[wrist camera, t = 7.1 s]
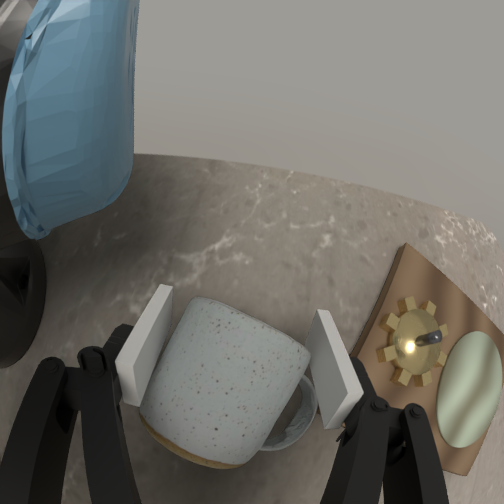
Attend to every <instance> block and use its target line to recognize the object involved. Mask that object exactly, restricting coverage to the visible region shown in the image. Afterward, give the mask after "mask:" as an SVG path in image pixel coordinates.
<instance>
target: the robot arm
mask: <svg viewBox="0 0 504 504" xmlns="http://www.w3.org/2000/svg"><path fill="white" fill-rule="evenodd" d="M138 13H139V0H0V368H5V367H8V366H10V365H12V364H14V363H15V362H16V361H17V360H19V359H20V358H21V357H22V355H23V354H24V353H25V352H26V350H27V349H28V347H29V346H30V344H31V342H32V340H33V338H34V336H35V333H36V331H37V328H38V325H39V322H40V319H41V315H42V311H43V306H44V299H45V288H46V276H45V266H44V260H43V256H42V253H41V250H40V248H39V246H38V244H37V242H36V240H39V239H42V238H44V237H46V236H47V235H49V234H50V232H51V230H52V229H53V228H55V227H58V226H60V225H63V224H65V223H68V222H70V221H73V220H76V219H78V218H81V217H84V216H86V215H89V214H92V213H95V212H97V211H100V210H102V209H104V208H105V207H107V206H108V205H110V204H111V203H112V202H114V201H115V200H116V199H117V198H118V197H119V196H120V194H121V193H122V192H123V190H124V188H125V187H126V185H127V183H128V180H129V178H130V175H131V172H132V167H133V154H134V71H135V52H136V35H137V23H138ZM35 239H36V240H35ZM172 298H173V286H169V285H163V284H160V286H159V287H158V289H157V290H156V292H155V294H154V295H153V297H152V298H151V300H150V302H149V303H148V305H147V307H146V308H145V310H144V312H143V313H142V315H141V317H140V318H139V320H138V322H137V323H136V325H135V327H134V326H130V325H127V324H121V325H120V326H118V327H117V328H115V330H114V331H113V333H112V334H111V336H110V337H109V339H108V341H107V342H106V344H105V345H104V347H103V348H100V347H97V346H89V347H86V348H83V349H82V350H81V351H80V352H79V353H78V356H77V358H78V362H79V365H80V368H75V367H65V365H64V362H63V361H62V360H61V359H59V358H57V357H48V358H45V359H44V360H42V361H41V362H40V364H39V365H38V368H37V370H36V372H35V374H34V376H33V378H32V380H31V382H30V385H29V387H28V389H27V391H26V394H25V396H24V398H23V401H22V403H21V406H20V408H19V411H18V413H17V416H16V419H15V421H14V424H13V427H12V430H11V433H10V436H9V439H8V442H7V445H6V448H5V452H4V455H3V459H2V462H1V466H0V504H61V498H62V490H63V482H64V475H65V469H66V463H67V458H68V453H69V448H70V443H71V438H72V434H73V430H74V425H75V421H76V417H77V414H78V410H79V411H81V422H82V438H83V449H84V459H85V466H86V473H87V480H88V486H89V491H90V496H91V501H92V504H142V503H141V500H140V497H139V493H138V490H137V486H136V483H135V479H134V475H133V471H132V467H131V463H130V459H129V454H128V450H127V445H126V440H125V434H124V429H123V423H122V417H121V410H120V405H119V402H120V399H121V397H123V401H124V403H127V404H131V405H134V406H138V407H140V404H141V401H142V399H143V396H144V393H145V390H146V388H147V385H148V383H149V380H150V377H151V375H152V372H153V369H154V367H155V364H156V362H157V359H158V357H159V354H160V352H161V349H162V347H163V344H164V342H165V339H166V337H167V334H168V332H169V329H170V327H171V322H172ZM304 346H305V348H306V349H307V350H308V351H309V352H310V354H311V359H310V362H309V366H310V370H311V374H312V378H313V382H314V386H315V391H316V395H317V399H318V403H319V408H320V412H321V416H322V421H323V425H324V429H338V428H340V426H341V425H342V424H343V422H344V423H345V427H346V428H345V430H344V431H343V432H342V433H341V435H340V436H339V437H338V438H337V440H336V442H338V441H339V440H340V439H341V440H340V443H339V447H338V451H337V454H336V458H335V461H334V464H333V467H332V471H331V474H330V477H329V480H328V483H327V486H326V488H325V491H324V494H323V497H322V499H321V502H320V504H378V502H379V497H380V492H381V487H382V481H383V493H384V504H449V500H448V495H447V489H446V484H445V480H444V475H443V471H442V466H441V462H440V458H439V454H438V451H437V447H436V443H435V440H434V436H433V433H432V430H431V426H430V423H429V420H428V417H427V414H426V411H425V410H424V408H423V407H422V406H420V405H419V404H416V403H409V404H407V405H406V406H405V407H404V409H400V408H394V407H390V405H389V403H388V402H387V401H386V400H385V399H384V398H381V397H379V396H377V394H376V392H375V389H374V387H373V385H372V383H371V380H370V378H369V377H368V374H367V372H366V369H365V367H364V365H363V363H362V362H361V361H360V360H359V359H358V358H357V357H349V356H348V353H347V351H346V349H345V346H344V344H343V342H342V339H341V337H340V335H339V332H338V330H337V328H336V326H335V323H334V321H333V319H332V317H331V314H330V312H329V311H327V310H319V309H317V311H316V314H315V317H314V319H313V322H312V325H311V328H310V331H309V333H308V336H307V339H306V341H305V344H304Z"/></svg>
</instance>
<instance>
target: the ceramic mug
mask: <svg viewBox="0 0 504 504" xmlns="http://www.w3.org/2000/svg"><path fill="white" fill-rule="evenodd" d="M310 359H311V354H310V352H309V351H308V350H307V349H306V348H305V347H304V346H303V345H301V344H300V343H299V342H297V341H295V340H294V339H292V338H291V337H289V336H288V335H286V334H284V333H283V332H281V331H279V330H277V329H275V328H273V327H272V326H269V325H267V324H266V323H264V322H262V321H260V320H257V319H255V318H254V317H251V316H249V315H247V314H245V313H243V312H241V311H239V310H237V309H235V308H232V307H230V306H228V305H226V304H224V303H221V302H219V301H216V300H213V299H207V298H204V297H194V298H193V299H192V300H191V301H190V302H189V304H188V306H187V308H186V310H185V312H184V314H183V316H182V318H181V320H180V322H179V324H178V325H177V327H176V329H175V331H174V333H173V335H172V336H171V338H170V340H169V342H168V344H167V346H166V348H165V350H164V352H163V354H162V356H161V359H160V361H159V363H158V365H157V367H156V369H155V370H154V372H153V374H152V376H151V378H150V380H149V383H148V385H147V388H146V390H145V393H144V396H143V399H142V401H141V404H140V410H139V414H140V418H141V421H142V423H143V425H144V426H145V428H146V430H147V431H148V432H149V433H150V435H151V436H152V437H154V438H155V439H156V440H157V441H158V442H159V443H160V444H161V445H163V446H164V447H165V448H167V449H168V450H170V451H172V452H173V453H175V454H177V455H178V456H180V457H182V458H184V459H187V460H189V461H191V462H194V463H196V464H200V465H203V466H207V467H211V468H216V469H231V468H237V467H240V466H242V465H244V464H245V463H246V462H248V461H249V460H250V459H251V458H252V457H253V456H254V455H255V454H256V453H257V451H258V450H261V451H275V450H281V449H284V448H286V447H288V446H290V445H291V444H293V443H294V442H296V441H297V440H298V439H299V438H300V437H301V436H302V435H303V434H304V433H305V432H306V430H307V429H308V428H309V426H310V424H311V423H312V421H313V419H314V417H315V414H316V411H317V405H318V399H317V395H316V391H315V388H314V386H313V384H312V383H311V381H310V380H309V379H308V377H307V376H306V375H305V374H304V372H305V370H306V368H307V366H308V364H309V362H310ZM298 384H299V386H300V388H301V391H302V401H301V406H300V408H299V410H298V411H297V413H296V415H295V416H294V418H293V419H292V421H291V422H290V424H289V425H288V426H287V427H286V428H285V430H284V432H282V433H281V434H279V435H277V436H275V437H272V438H268V439H267V437H268V435H269V433H270V432H271V430H272V428H273V426H274V424H275V422H276V421H277V419H278V417H279V416H280V414H281V412H282V411H283V409H284V408H285V406H286V404H287V403H288V401H289V399H290V397H291V396H292V394H293V392H294V390H295V388H296V387H297V385H298Z"/></svg>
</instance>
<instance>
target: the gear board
mask: <svg viewBox="0 0 504 504" xmlns="http://www.w3.org/2000/svg"><path fill="white" fill-rule="evenodd" d="M412 296H413V297H414V300H415V304H416V308H417V309H420V306H421V304H422V303H424V302H426V301H428V300H429V301H431V302H432V303H433V304H434V305H435V306H436V309H435V313H434V316H433V317H434V318H435V320H436V322H437V324H438V326H440V325H443V324H446V325H447V330H448V335H446V336H444V337H442V343H441V351H442V352H443V353H445V354H446V355H447V359H446V362H445V365H444V366H443V367H437V368H435V367H434V366H433V368H432V369H431V370H430V372H431V379H432V382H431V383H429V384H427V385H426V386H424V387H415V383H414V377H413V375H411V378H410V380H409V382H408V384H407V386H397V385H395V384H393V383H392V382H390V380H391V377H392V375H393V373H394V371H395V368H394V367H393V365H392V364H391V362H390V361H387V362H382V363H378V358H377V353H376V350H378V349H381V348H384V347H387V335H388V333H387V332H386V331H384V330H383V329H381V328H380V327H379V324H380V322H381V319H382V317H383V315H386V314H388V313H390V312H391V313H393V314H394V315H395V316H397V317H398V316H399V315H400V312H399V308H398V304H397V302H399V301H401V300H403V299H405V298H409V297H412ZM350 357H357V358H358V359H359V360H360V361H361V362H362V363H363V365H364V367H365V369H366V372H367V374H368V377H369V378H370V380H371V383H372V385H373V387H374V389H375V392H376V394H377V396H379V397H381V398H384V399H385V400H386V401H387V402H388V403H389V405H390V407H394V408H400V409H404V407H405V406H406V405H407V404H409V403H416V404H419V405H420V406H422V407H423V408H424V410H425V411H426V414H427V417H428V420H429V423H430V426H431V430H432V433H433V436H434V440H435V443H436V447H437V451H438V454H439V458H440V462H441V466H442V470H445V471H448V472H451V473H454V474H457V475H462V476H467V475H468V473H469V471H470V469H471V467H472V465H473V463H474V461H475V459H476V457H477V455H478V453H479V450H480V448H481V446H482V444H483V441H484V439H485V437H486V434H487V432H488V429H489V426H490V424H491V421H492V419H493V417H494V415H495V412H496V410H497V407H498V404H499V400H500V395H501V390H502V387H503V383H504V334H503V333H502V332H501V331H500V330H499V329H498V328H497V327H496V326H495V324H494V323H493V322H492V321H491V320H490V319H489V318H488V317H487V316H486V315H485V314H484V313H483V312H482V311H481V310H480V309H479V308H478V307H477V306H476V304H475V303H474V302H473V301H472V300H471V299H470V298H468V297H467V296H466V295H465V294H464V293H463V292H462V291H461V290H460V289H459V288H458V287H457V286H456V285H455V284H454V283H453V282H452V281H451V280H450V279H448V278H447V277H446V276H445V275H444V274H443V273H442V272H441V271H440V270H439V269H437V268H436V267H435V266H434V265H433V264H432V263H431V262H429V261H428V260H427V259H426V258H425V257H424V256H422V255H421V254H420V253H419V252H418V251H416V250H415V249H414V248H413V247H412V246H410V245H409V244H408V243H407V242H406V243H405V244H404V245H403V246H401V247H400V248H399V249H398V252H397V255H396V257H395V260H394V262H393V265H392V268H391V270H390V273H389V275H388V277H387V280H386V282H385V285H384V287H383V289H382V292H381V294H380V296H379V298H378V301H377V303H376V305H375V307H374V309H373V312H372V314H371V316H370V318H369V320H368V322H367V324H366V326H365V328H364V330H363V332H362V334H361V336H360V338H359V340H358V342H357V344H356V346H355V348H354V349H353V351H352V353H351V355H350ZM316 412H317V413H318V414H320V415H321V412H320V408H318V410H317V411H316ZM341 426H342V427H344V428H346V427H345V423H344V422H343V424H342V425H341Z"/></svg>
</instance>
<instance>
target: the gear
mask: <svg viewBox="0 0 504 504" xmlns="http://www.w3.org/2000/svg"><path fill="white" fill-rule="evenodd" d="M397 304H398V308H399V312H400V315H399V316H398V317H397V316H395V315H394V314H393V313H391V312H390V313H388V314H386V315H383V317H382V319H381V322H380V324H379V327H380V328H381V329H383V330H384V331H386V332H387V333H388V335H387V347H384V348H381V349H378V350H376V353H377V358H378V363H382V362H387V361H390V362H391V364H392V365H393V367H394V368H395V371H394V373H393V375H392V377H391V380H390V382H392V383H393V384H395V385H397V386H407V384H408V382H409V380H410V378H411V375H413V377H414V383H415V387H424V386H426V385H427V384H429V383H431V382H432V379H431V372H430V370H431V369H432V368H433V366H434V367H435V368H437V367H443V366H444V365H445V362H446V359H447V355H446V354H445V353H443V352H442V351H441V343H442V337H444V336H446V335H448V330H447V325H446V324H443V325H440V326H438V324H437V322H436V320H435V318H434V317H433V316H434V313H435V309H436V306H435V305H434V304H433V303H432V302H431V301H429V300H428V301H426V302H424V303H422V304H421V306H420V309H417V308H416V304H415V300H414V297H413V296H412V297H409V298H405V299H403V300H401V301H399V302H397Z"/></svg>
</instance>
